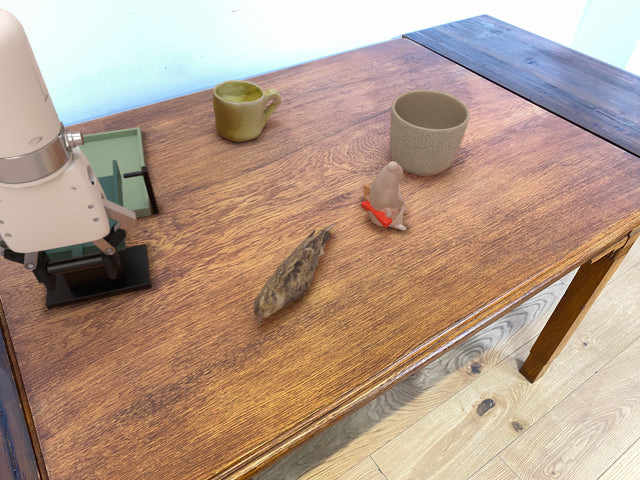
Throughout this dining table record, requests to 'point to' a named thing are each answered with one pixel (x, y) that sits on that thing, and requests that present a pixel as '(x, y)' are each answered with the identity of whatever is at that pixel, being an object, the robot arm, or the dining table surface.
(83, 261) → the scoop
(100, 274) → the stand
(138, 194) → the tray
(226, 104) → the mug
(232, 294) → the dining table surface
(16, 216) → the robot arm
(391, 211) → the figurine
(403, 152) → the planter
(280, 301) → the bird model
